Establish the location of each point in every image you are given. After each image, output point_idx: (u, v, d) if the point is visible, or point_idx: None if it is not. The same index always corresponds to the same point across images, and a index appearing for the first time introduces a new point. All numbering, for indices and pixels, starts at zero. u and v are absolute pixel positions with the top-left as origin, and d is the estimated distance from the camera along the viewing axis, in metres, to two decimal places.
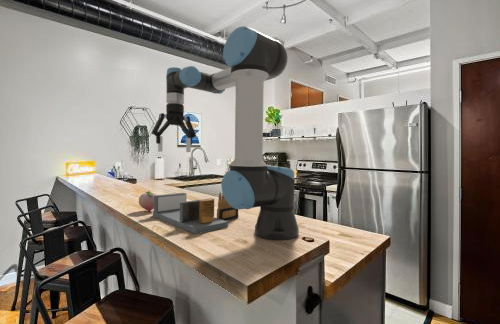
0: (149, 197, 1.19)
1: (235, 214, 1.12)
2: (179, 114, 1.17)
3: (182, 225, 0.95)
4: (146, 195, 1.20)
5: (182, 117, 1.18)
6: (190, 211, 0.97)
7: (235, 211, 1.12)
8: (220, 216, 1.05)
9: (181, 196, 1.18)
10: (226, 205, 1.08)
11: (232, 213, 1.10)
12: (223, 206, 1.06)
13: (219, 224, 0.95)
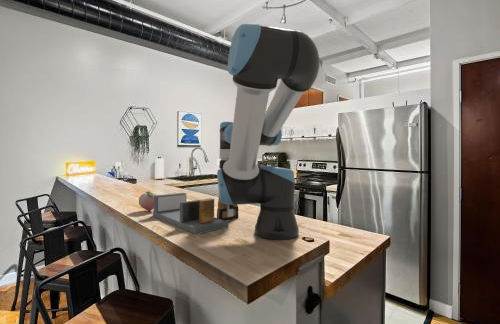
0: (149, 197, 1.19)
1: (235, 214, 1.12)
2: None
3: (182, 225, 0.95)
4: (146, 195, 1.20)
5: None
6: (190, 211, 0.97)
7: (235, 211, 1.12)
8: (220, 216, 1.05)
9: (181, 196, 1.18)
10: (226, 205, 1.08)
11: None
12: (223, 206, 1.07)
13: (219, 224, 0.95)
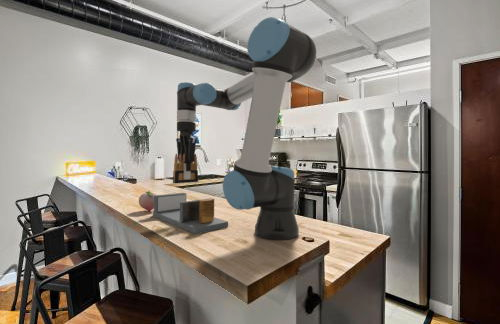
0: (149, 197, 1.19)
1: (194, 178, 1.11)
2: (186, 130, 1.05)
3: (182, 225, 0.95)
4: (146, 195, 1.20)
5: (187, 135, 1.05)
6: (190, 211, 0.97)
7: (194, 175, 1.11)
8: (176, 177, 1.05)
9: (181, 196, 1.18)
10: (183, 167, 1.07)
11: (191, 176, 1.09)
12: (179, 168, 1.06)
13: (219, 224, 0.95)
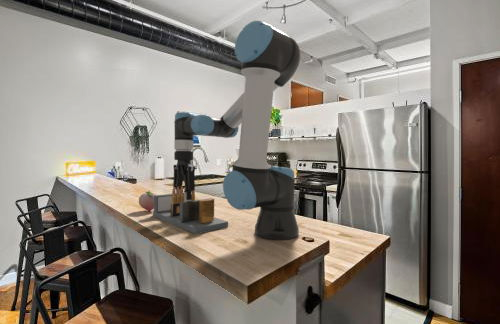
0: (149, 197, 1.19)
1: None
2: (184, 160, 1.06)
3: (182, 225, 0.95)
4: (146, 195, 1.20)
5: (185, 164, 1.05)
6: (190, 211, 0.97)
7: None
8: (173, 211, 1.04)
9: None
10: (181, 200, 1.07)
11: None
12: (177, 201, 1.06)
13: (219, 224, 0.95)
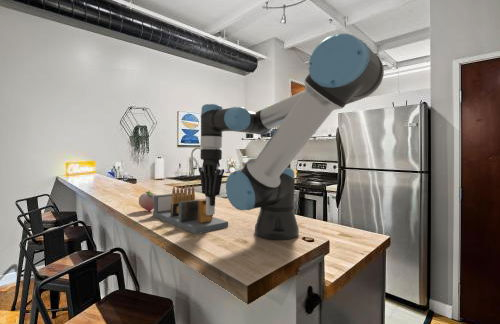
0: (149, 197, 1.19)
1: None
2: (213, 159, 0.91)
3: (182, 225, 0.95)
4: (146, 195, 1.20)
5: (213, 165, 0.91)
6: (189, 211, 0.98)
7: None
8: (173, 211, 1.04)
9: None
10: (181, 200, 1.07)
11: None
12: (177, 201, 1.06)
13: (219, 224, 0.95)
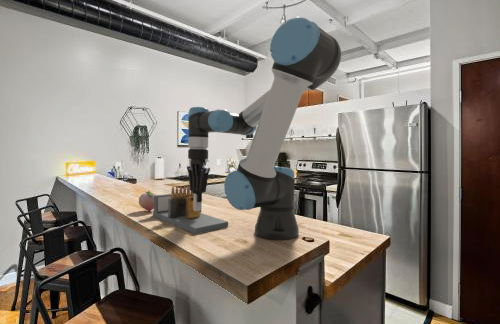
0: (149, 197, 1.19)
1: None
2: (199, 158, 0.97)
3: (182, 225, 0.95)
4: (146, 195, 1.20)
5: (200, 163, 0.97)
6: (178, 207, 1.04)
7: None
8: None
9: None
10: None
11: None
12: None
13: (219, 224, 0.95)
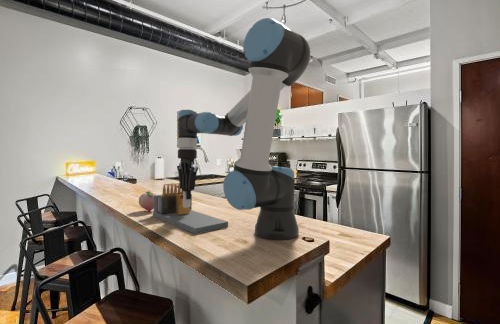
0: (149, 197, 1.19)
1: None
2: (188, 158, 1.03)
3: (182, 225, 0.95)
4: (146, 195, 1.20)
5: (188, 163, 1.03)
6: (168, 204, 1.10)
7: None
8: None
9: None
10: None
11: None
12: None
13: (219, 224, 0.95)
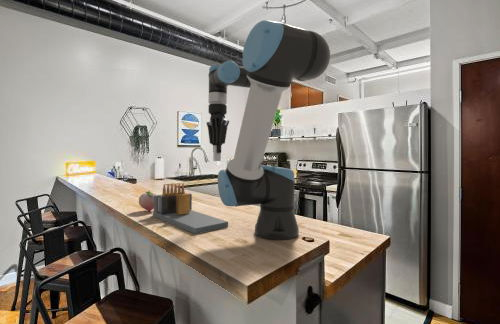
0: (149, 197, 1.19)
1: None
2: (219, 112, 1.06)
3: (182, 225, 0.95)
4: (146, 195, 1.20)
5: (219, 117, 1.06)
6: (168, 204, 1.10)
7: None
8: None
9: None
10: None
11: None
12: None
13: (219, 224, 0.95)
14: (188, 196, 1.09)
